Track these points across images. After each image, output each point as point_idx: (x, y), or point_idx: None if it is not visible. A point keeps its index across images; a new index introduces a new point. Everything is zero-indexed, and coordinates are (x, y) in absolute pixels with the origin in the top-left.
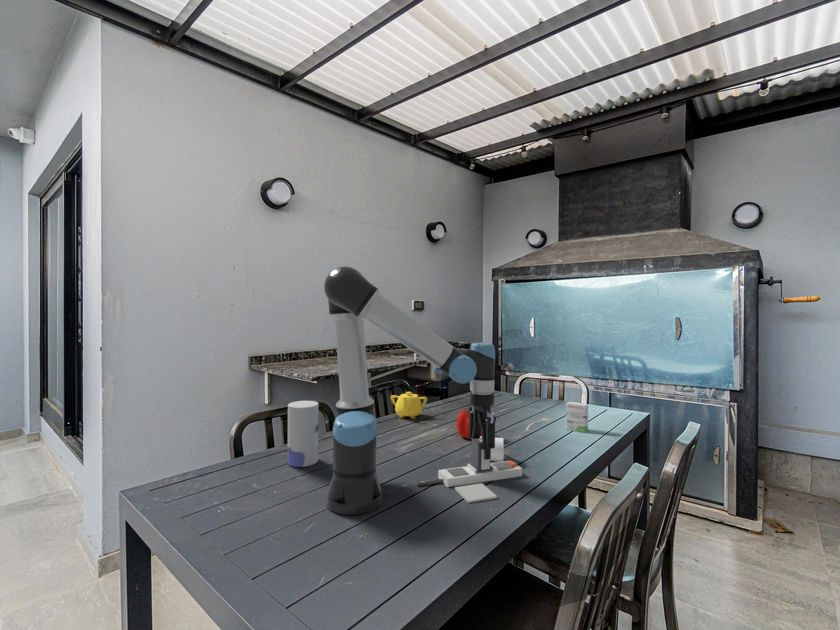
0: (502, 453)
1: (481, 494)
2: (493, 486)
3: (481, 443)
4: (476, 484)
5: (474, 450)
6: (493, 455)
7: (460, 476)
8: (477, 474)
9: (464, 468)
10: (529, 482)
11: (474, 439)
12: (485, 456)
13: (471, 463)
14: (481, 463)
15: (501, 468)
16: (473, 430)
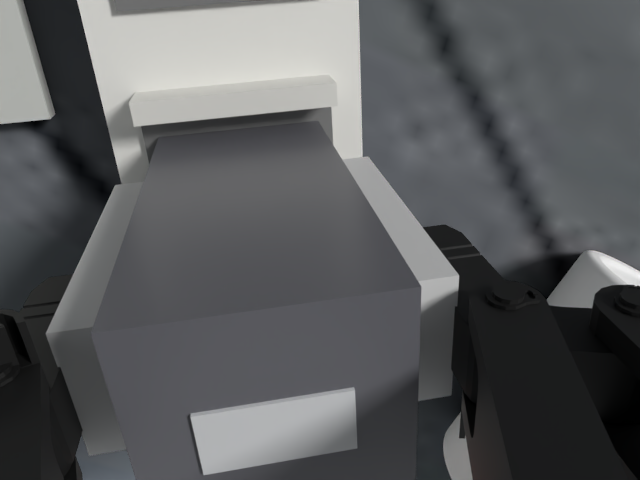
0: (454, 475)
1: None
2: (25, 208)
3: (110, 389)
4: (20, 50)
5: (262, 213)
6: None
7: None
8: (108, 113)
9: (308, 28)
10: (88, 469)
11: (364, 327)
12: (49, 300)
13: (321, 131)
14: (121, 209)
15: None
16: (565, 463)
